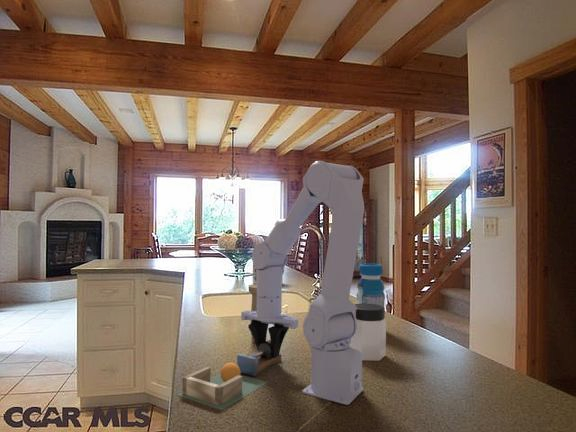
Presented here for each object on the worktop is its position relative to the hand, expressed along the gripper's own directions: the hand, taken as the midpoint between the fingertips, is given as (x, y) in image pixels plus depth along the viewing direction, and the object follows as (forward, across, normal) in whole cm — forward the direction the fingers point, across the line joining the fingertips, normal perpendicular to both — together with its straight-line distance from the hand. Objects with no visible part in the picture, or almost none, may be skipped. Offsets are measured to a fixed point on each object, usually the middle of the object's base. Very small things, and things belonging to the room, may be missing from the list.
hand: (268, 355), depth 90 cm
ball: (0, 0, +14) cm, 14 cm away
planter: (+2, +67, -98) cm, 119 cm away
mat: (+2, 0, +16) cm, 16 cm away
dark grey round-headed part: (+1, 0, +3) cm, 3 cm away
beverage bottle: (+2, -10, -40) cm, 42 cm away
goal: (+2, 0, +19) cm, 19 cm away
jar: (+2, -17, -18) cm, 25 cm away
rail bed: (+2, 0, +2) cm, 3 cm away
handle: (+2, +12, -12) cm, 17 cm away
